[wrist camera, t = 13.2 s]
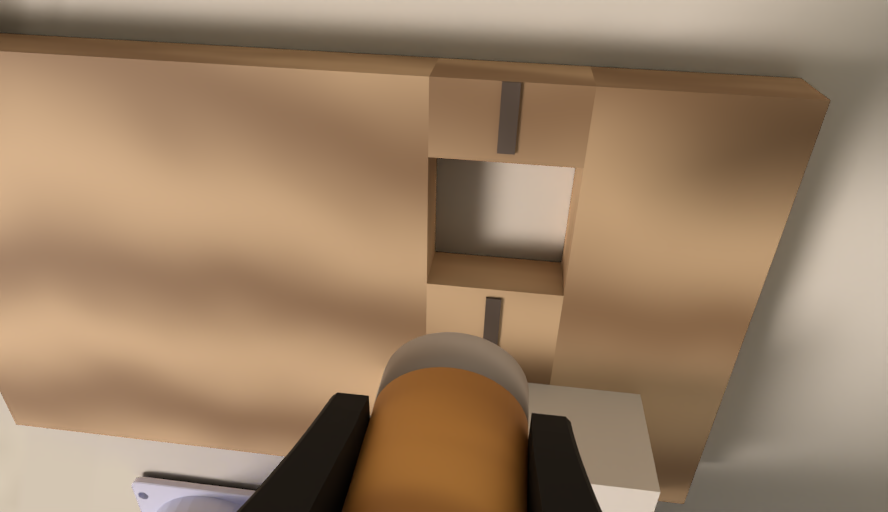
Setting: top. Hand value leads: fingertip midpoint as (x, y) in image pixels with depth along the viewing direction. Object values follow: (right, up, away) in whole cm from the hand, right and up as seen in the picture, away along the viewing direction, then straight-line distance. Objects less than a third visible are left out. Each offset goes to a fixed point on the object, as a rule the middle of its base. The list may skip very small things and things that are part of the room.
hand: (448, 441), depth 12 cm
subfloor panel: (-4, +3, +11) cm, 12 cm away
